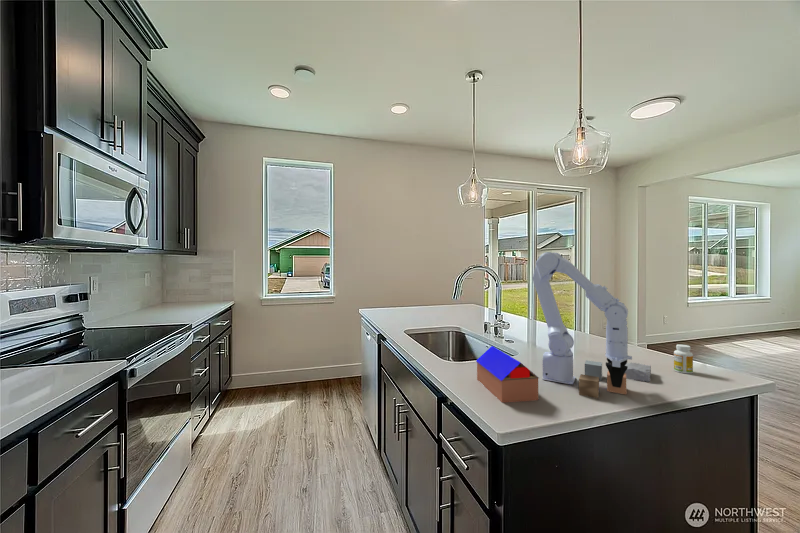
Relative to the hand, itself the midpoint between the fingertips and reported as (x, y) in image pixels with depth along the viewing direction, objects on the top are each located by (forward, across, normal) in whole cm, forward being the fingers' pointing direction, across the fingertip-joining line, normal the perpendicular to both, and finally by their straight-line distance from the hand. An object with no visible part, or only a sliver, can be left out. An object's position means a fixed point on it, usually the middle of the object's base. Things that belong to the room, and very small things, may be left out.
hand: (616, 384), depth 105 cm
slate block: (+2, +10, +7) cm, 12 cm away
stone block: (+2, +20, -5) cm, 21 cm away
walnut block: (+2, -8, +7) cm, 11 cm away
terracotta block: (+2, 0, 0) cm, 2 cm away
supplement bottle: (+2, +34, -20) cm, 40 cm away
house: (+2, -18, +30) cm, 35 cm away
